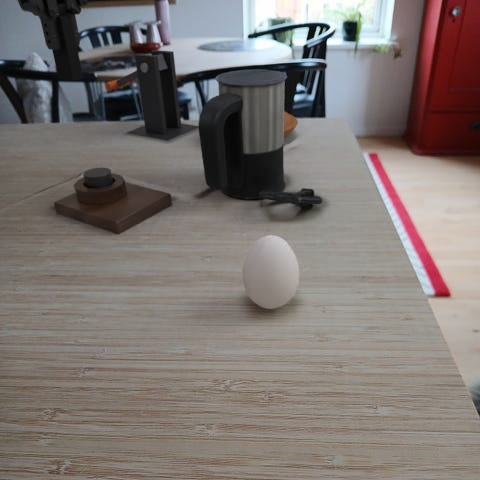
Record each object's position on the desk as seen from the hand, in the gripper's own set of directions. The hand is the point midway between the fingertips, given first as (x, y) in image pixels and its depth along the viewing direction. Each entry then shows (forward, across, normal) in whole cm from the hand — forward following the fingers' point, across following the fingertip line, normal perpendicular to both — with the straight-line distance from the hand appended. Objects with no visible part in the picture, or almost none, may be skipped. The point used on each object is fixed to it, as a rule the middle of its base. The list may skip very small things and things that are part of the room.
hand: (70, 78), depth 61 cm
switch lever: (+7, +28, +17) cm, 33 cm away
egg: (+16, -8, -34) cm, 38 cm away
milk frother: (+16, +14, -20) cm, 29 cm away
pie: (+16, +32, -5) cm, 36 cm away
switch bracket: (+16, +28, +12) cm, 35 cm away
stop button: (+13, 0, -1) cm, 13 cm away
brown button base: (+16, 0, -4) cm, 17 cm away
